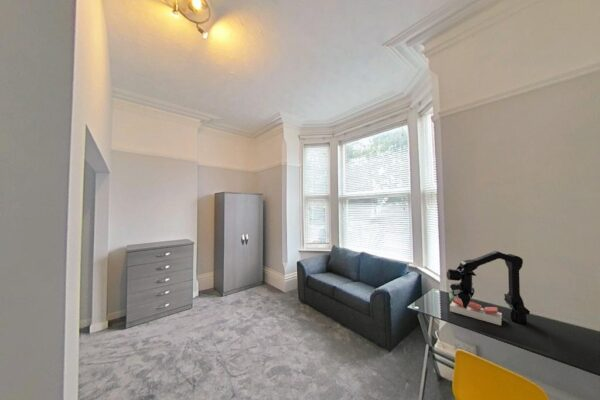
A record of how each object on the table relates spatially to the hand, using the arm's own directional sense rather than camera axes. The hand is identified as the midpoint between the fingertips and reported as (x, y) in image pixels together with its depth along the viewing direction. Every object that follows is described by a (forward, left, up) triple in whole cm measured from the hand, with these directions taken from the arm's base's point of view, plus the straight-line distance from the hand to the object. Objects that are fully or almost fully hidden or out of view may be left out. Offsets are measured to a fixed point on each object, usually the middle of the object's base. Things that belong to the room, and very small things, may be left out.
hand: (466, 305), depth 137 cm
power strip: (-4, -4, -6) cm, 8 cm away
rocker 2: (-4, -4, -1) cm, 6 cm away
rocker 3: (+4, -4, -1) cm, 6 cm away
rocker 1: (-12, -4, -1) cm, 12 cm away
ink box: (+8, -20, -6) cm, 23 cm away
